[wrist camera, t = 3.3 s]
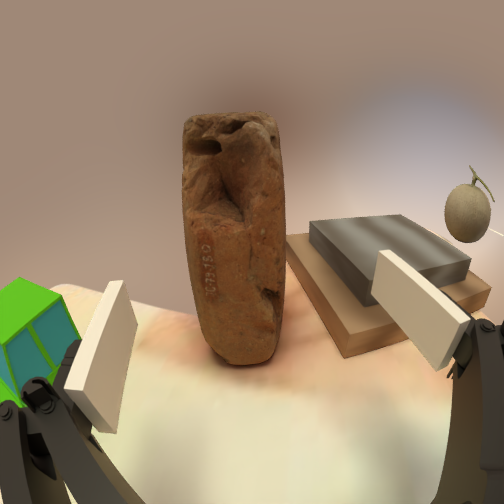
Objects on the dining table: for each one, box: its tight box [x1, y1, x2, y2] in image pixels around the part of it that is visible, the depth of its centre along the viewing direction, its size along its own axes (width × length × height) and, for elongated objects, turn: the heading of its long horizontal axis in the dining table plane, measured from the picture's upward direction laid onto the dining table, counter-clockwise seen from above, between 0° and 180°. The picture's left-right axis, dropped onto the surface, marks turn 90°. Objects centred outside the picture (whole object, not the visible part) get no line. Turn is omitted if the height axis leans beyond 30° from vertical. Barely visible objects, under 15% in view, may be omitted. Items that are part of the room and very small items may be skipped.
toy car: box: [0, 277, 82, 408], centre depth 13 cm, size 10×13×10 cm
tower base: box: [286, 215, 491, 358], centre depth 33 cm, size 22×22×6 cm
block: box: [182, 111, 286, 365], centre depth 23 cm, size 11×8×20 cm
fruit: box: [445, 166, 495, 243], centre depth 40 cm, size 10×12×15 cm
